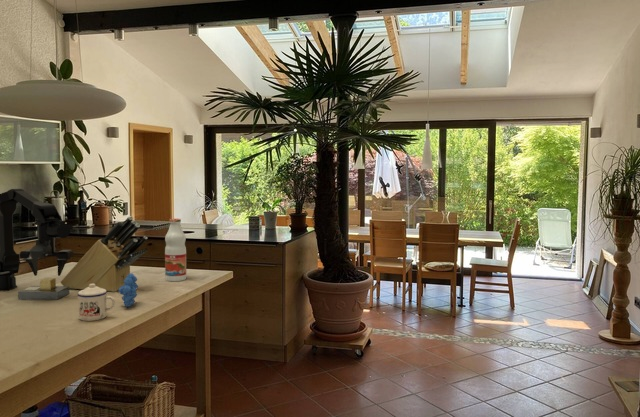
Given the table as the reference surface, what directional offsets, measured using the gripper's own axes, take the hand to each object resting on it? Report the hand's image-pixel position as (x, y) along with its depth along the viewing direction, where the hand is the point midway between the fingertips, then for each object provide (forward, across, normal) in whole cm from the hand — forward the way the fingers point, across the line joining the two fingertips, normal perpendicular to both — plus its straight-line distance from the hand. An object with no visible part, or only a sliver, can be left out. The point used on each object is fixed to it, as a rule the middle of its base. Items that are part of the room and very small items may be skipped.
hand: (47, 275), depth 201 cm
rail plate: (+8, -1, 0) cm, 8 cm away
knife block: (+8, +17, +14) cm, 24 cm away
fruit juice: (+8, +42, +32) cm, 54 cm away
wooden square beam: (+8, 0, 0) cm, 8 cm away
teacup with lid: (+8, +31, -28) cm, 43 cm away
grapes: (+8, +36, -13) cm, 39 cm away
